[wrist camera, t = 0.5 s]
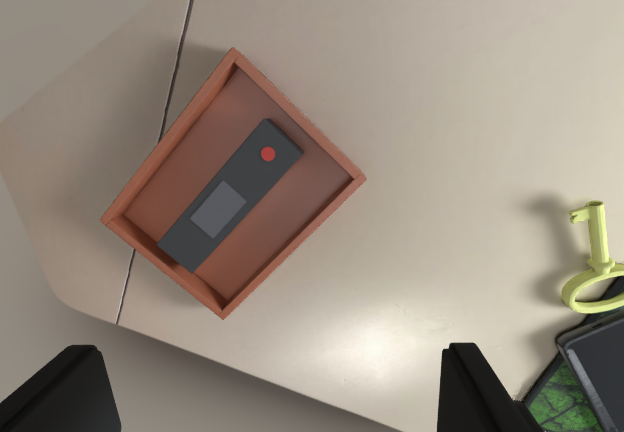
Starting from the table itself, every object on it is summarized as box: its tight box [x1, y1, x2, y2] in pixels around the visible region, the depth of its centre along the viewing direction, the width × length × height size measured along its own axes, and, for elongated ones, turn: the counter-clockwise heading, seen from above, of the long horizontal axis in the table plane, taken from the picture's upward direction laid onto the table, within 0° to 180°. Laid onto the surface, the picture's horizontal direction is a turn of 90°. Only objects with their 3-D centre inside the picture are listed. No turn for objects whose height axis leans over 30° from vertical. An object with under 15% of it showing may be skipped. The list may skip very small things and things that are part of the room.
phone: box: [557, 310, 624, 432], centre depth 35 cm, size 8×1×15 cm
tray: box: [100, 47, 366, 320], centre depth 31 cm, size 16×21×3 cm
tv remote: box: [157, 118, 304, 274], centre depth 30 cm, size 4×16×3 cm, turn 137°
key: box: [562, 201, 624, 313], centre depth 31 cm, size 7×12×2 cm, turn 40°
